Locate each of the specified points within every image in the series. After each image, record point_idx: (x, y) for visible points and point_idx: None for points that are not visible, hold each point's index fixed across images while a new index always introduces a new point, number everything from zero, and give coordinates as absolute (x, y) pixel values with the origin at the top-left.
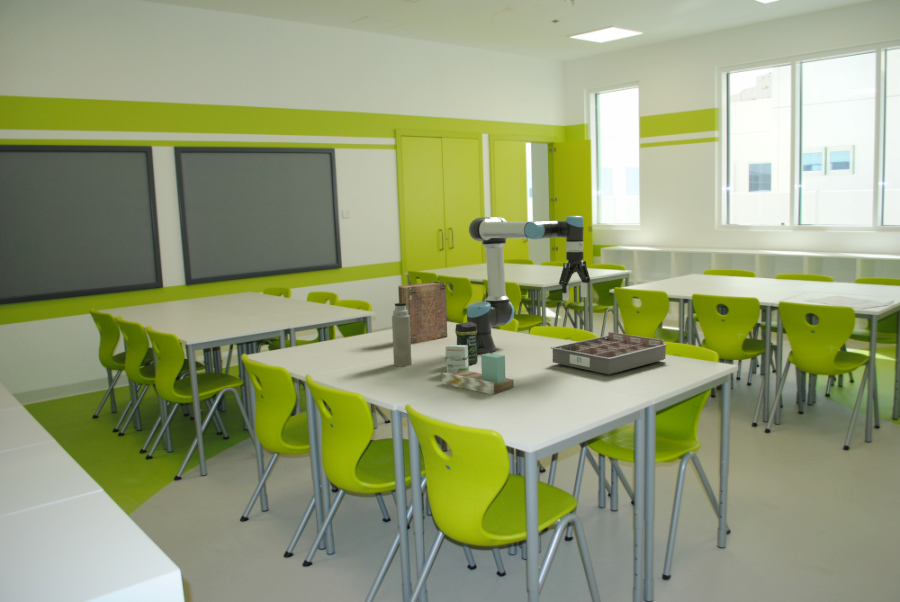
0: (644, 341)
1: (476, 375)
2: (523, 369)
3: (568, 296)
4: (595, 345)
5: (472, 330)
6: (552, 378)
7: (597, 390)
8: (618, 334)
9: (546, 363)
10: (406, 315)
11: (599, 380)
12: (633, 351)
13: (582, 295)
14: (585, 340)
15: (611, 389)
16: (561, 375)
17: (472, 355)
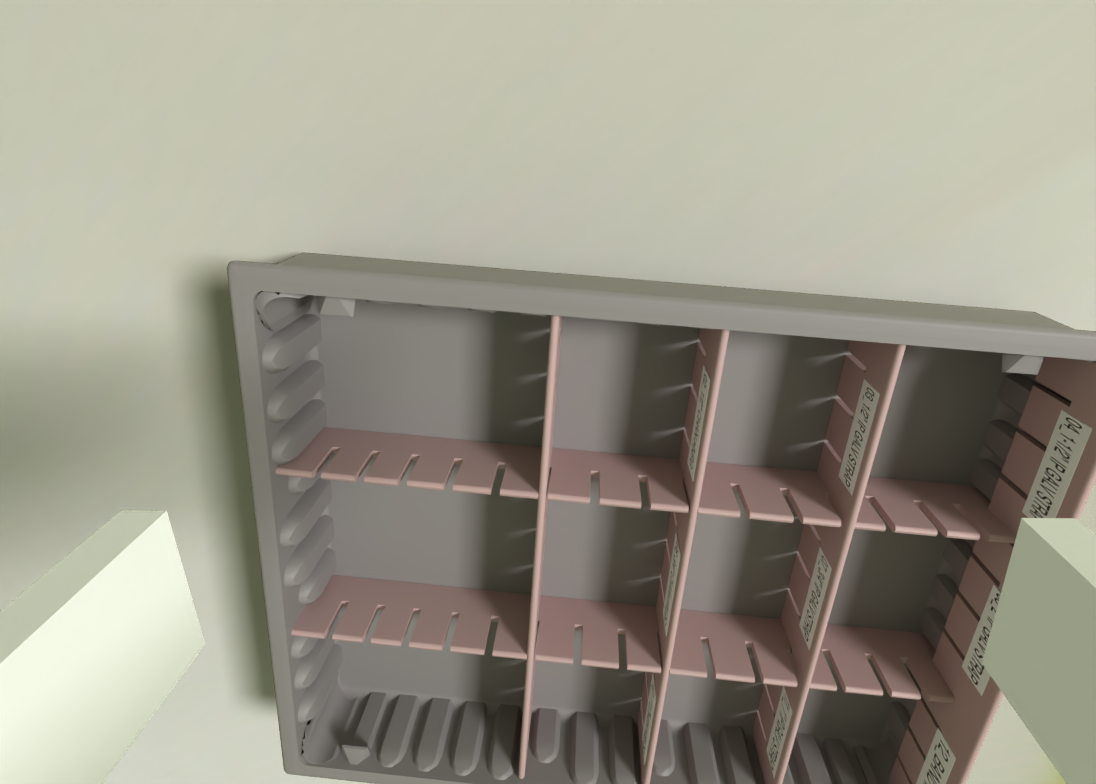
0: (960, 711)
1: None
2: (44, 165)
3: (129, 734)
4: (699, 430)
5: None
6: (70, 472)
7: None
8: (1071, 496)
9: (314, 169)
10: None
11: (253, 667)
12: (647, 741)
13: (1034, 605)
14: (733, 318)
15: (179, 769)
16: (160, 470)
17: None
